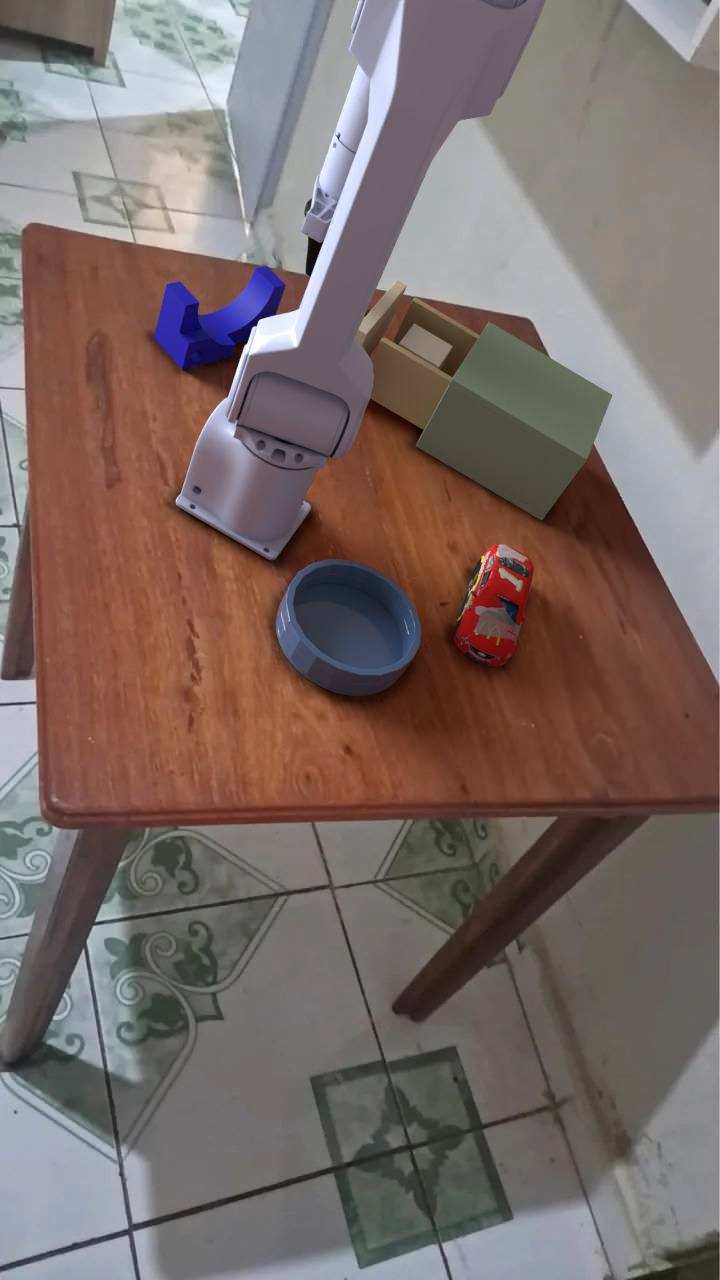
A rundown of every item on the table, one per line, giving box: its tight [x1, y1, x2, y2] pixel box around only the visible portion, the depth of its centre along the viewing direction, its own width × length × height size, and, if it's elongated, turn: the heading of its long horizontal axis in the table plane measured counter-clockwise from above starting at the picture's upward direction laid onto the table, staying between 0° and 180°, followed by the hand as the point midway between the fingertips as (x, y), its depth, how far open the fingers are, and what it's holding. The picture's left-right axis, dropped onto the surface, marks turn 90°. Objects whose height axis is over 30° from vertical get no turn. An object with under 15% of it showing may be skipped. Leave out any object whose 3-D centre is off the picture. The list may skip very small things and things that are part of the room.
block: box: [399, 324, 453, 370], centre depth 95 cm, size 4×4×4 cm
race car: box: [451, 543, 535, 667], centre depth 83 cm, size 13×5×4 cm, turn 161°
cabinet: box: [415, 321, 613, 521], centre depth 96 cm, size 15×13×9 cm
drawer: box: [356, 279, 481, 431], centre depth 95 cm, size 17×11×7 cm, turn 67°
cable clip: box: [153, 265, 287, 370], centre depth 91 cm, size 12×4×6 cm, turn 132°
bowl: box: [275, 558, 422, 697], centre depth 76 cm, size 11×11×3 cm
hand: (316, 276), depth 93 cm, fingers closed
